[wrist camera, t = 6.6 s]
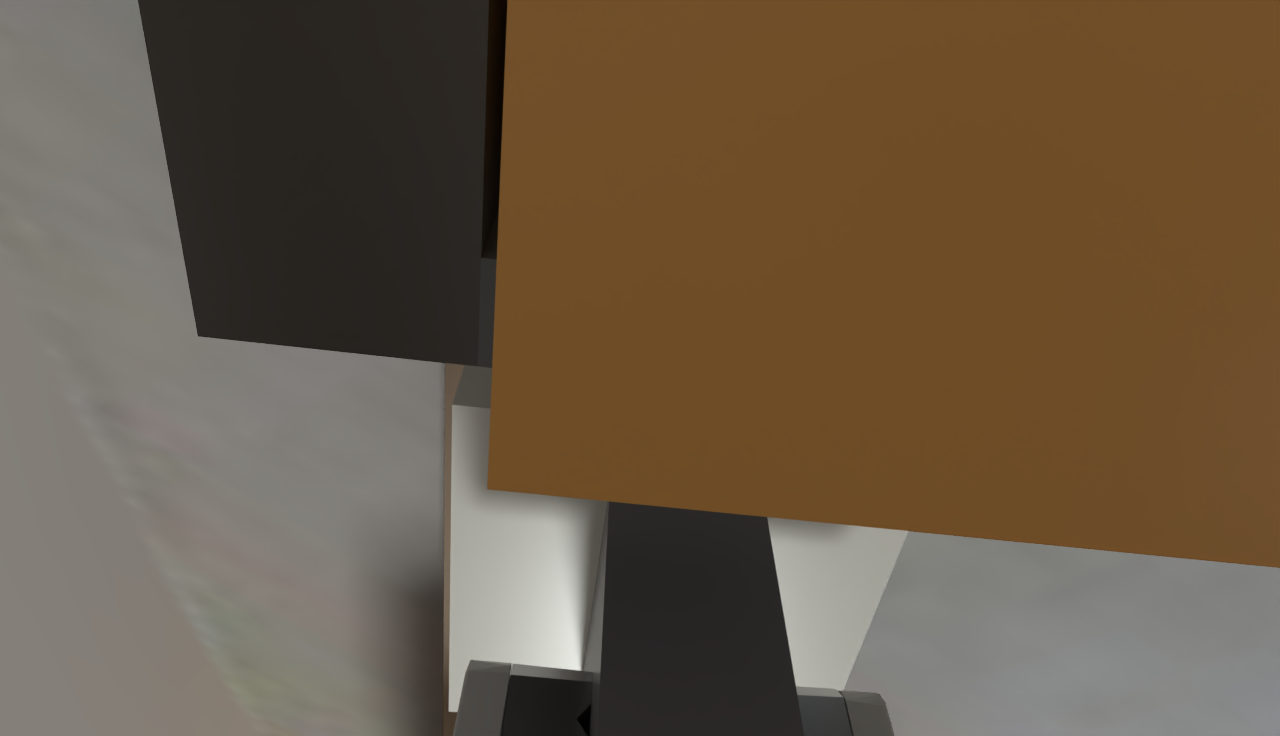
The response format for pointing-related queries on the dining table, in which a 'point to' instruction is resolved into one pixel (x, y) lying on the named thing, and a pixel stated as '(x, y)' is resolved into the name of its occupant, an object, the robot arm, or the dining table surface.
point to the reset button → (898, 265)
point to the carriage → (654, 598)
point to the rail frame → (338, 177)
